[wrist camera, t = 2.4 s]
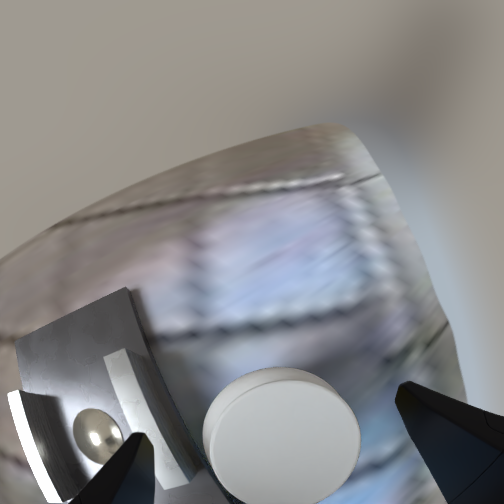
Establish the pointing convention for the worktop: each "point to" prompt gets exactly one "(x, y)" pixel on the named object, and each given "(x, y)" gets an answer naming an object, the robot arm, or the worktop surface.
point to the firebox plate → (102, 405)
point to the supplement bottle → (281, 437)
